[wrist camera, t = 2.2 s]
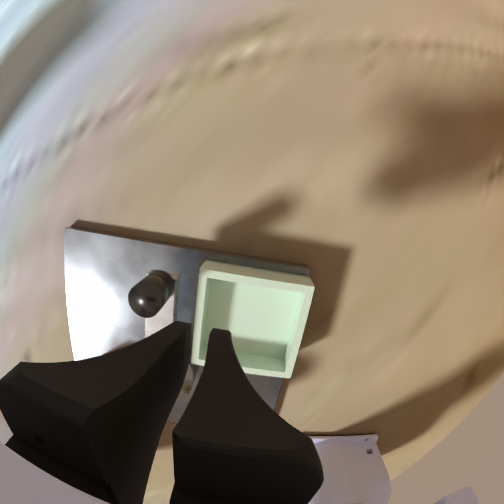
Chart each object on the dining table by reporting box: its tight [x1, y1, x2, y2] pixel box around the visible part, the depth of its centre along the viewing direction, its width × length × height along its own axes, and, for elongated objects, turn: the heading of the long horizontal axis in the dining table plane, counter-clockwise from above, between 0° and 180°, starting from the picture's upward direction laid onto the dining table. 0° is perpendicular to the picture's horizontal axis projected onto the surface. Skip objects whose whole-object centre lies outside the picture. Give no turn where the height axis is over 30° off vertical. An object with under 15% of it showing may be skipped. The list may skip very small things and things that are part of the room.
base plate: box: [64, 226, 310, 423], centre depth 20 cm, size 19×17×4 cm
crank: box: [128, 269, 180, 399], centre depth 16 cm, size 10×3×4 cm, turn 171°
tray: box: [191, 260, 315, 378], centre depth 19 cm, size 7×7×2 cm
